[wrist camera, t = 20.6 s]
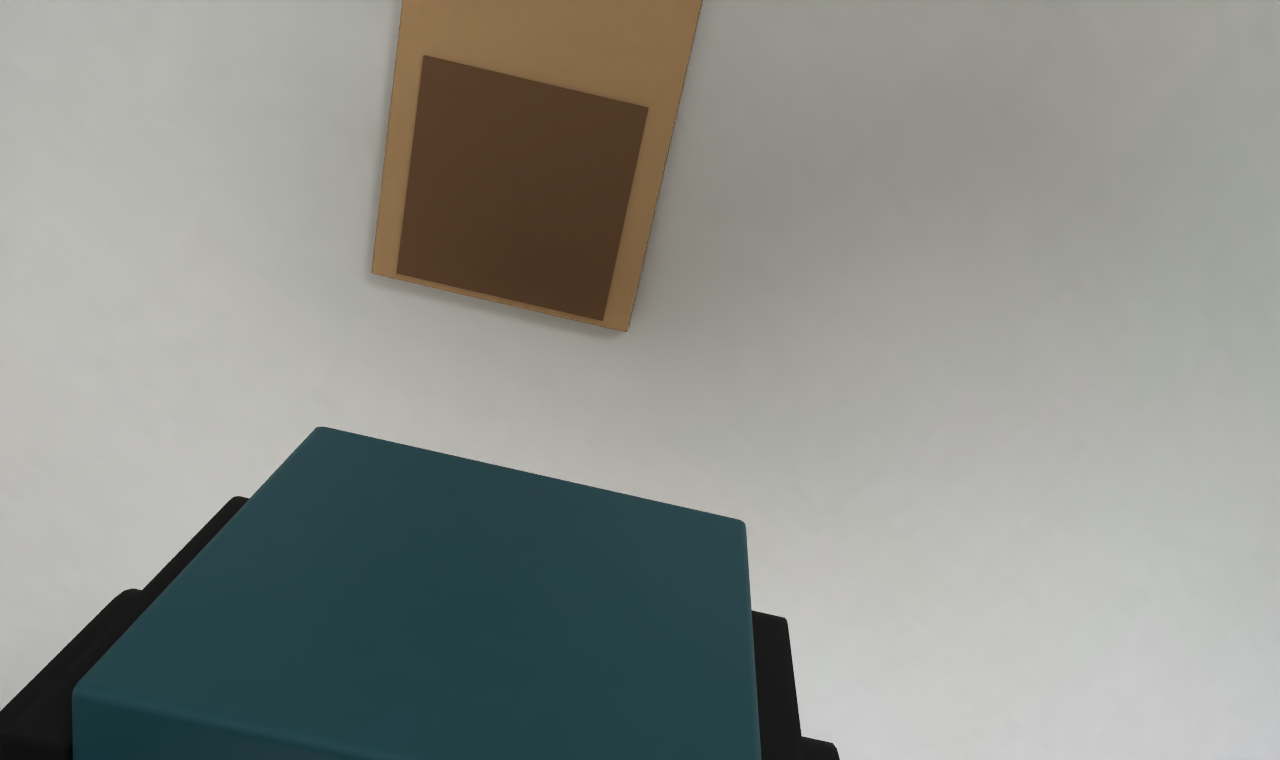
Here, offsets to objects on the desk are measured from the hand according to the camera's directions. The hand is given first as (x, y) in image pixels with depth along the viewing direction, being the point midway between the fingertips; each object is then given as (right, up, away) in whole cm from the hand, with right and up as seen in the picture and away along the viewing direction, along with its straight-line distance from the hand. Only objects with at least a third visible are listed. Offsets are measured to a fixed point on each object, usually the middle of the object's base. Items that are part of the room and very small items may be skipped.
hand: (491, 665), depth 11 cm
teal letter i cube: (0, 0, 0) cm, 0 cm away
